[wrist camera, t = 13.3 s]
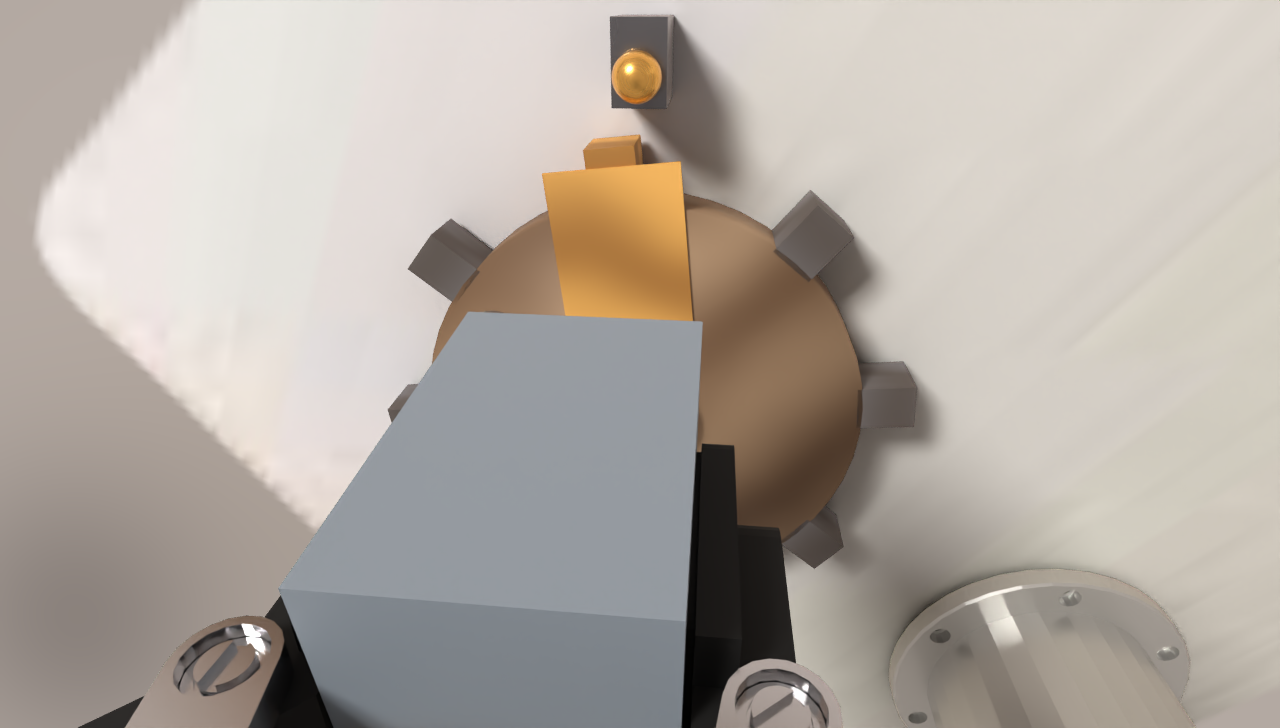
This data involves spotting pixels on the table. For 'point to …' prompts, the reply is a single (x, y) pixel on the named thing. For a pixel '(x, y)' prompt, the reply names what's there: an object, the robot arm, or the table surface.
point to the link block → (516, 536)
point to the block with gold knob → (641, 61)
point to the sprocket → (699, 291)
